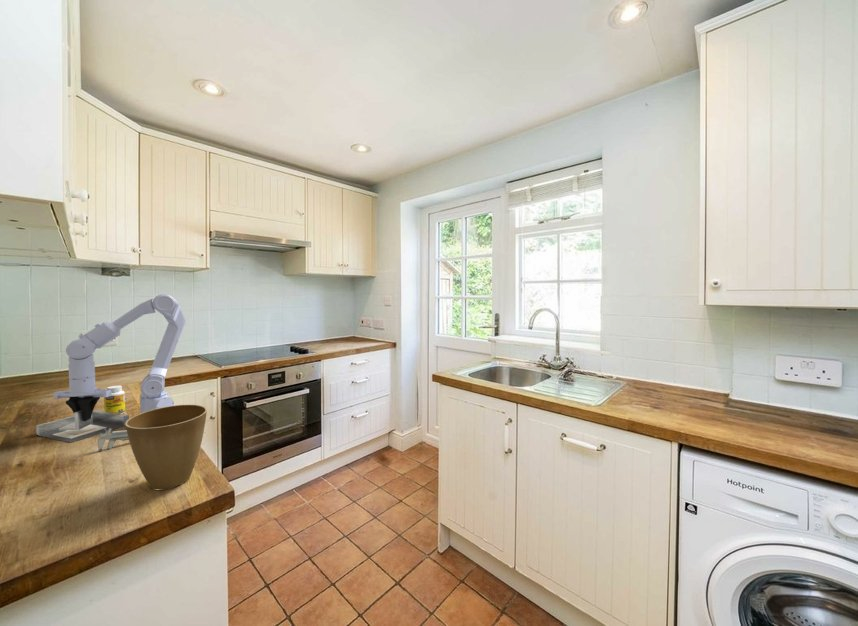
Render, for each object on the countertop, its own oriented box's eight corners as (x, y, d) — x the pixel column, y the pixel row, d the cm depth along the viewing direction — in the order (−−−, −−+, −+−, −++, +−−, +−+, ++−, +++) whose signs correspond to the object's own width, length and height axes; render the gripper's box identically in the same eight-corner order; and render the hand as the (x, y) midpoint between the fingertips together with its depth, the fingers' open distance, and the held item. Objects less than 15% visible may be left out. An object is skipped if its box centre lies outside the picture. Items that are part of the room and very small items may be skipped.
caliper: (99, 453, 93) (98, 431, 93) (98, 452, 94) (97, 430, 94) (185, 430, 110) (185, 411, 109) (184, 429, 110) (184, 410, 110)
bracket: (92, 423, 109) (91, 406, 109) (79, 429, 104) (77, 412, 104) (73, 424, 108) (72, 407, 108) (58, 430, 103) (57, 413, 103)
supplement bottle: (102, 418, 119) (101, 389, 119) (106, 413, 124) (105, 386, 123) (124, 415, 122) (122, 387, 122) (127, 410, 127) (125, 384, 126)
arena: (129, 424, 114) (128, 415, 114) (70, 442, 99) (70, 432, 99) (96, 418, 119) (96, 409, 118) (36, 435, 104) (35, 425, 104)
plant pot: (121, 484, 78) (118, 416, 77) (197, 460, 89) (195, 400, 88) (136, 510, 68) (132, 433, 68) (218, 479, 80) (216, 413, 79)
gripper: (118, 373, 111) (119, 414, 111) (67, 375, 109) (69, 416, 109) (100, 379, 104) (102, 422, 104) (46, 380, 102) (48, 424, 102)
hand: (84, 420), depth 106 cm, fingers closed on bracket
